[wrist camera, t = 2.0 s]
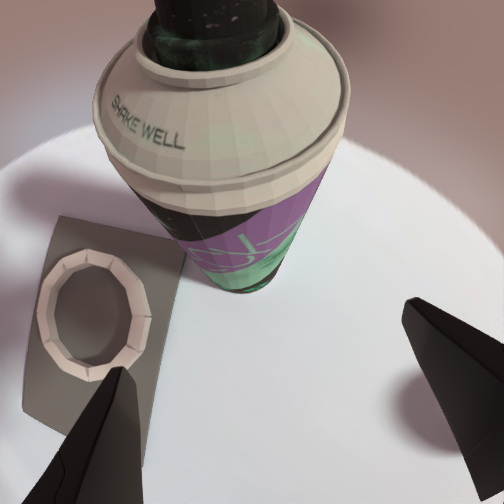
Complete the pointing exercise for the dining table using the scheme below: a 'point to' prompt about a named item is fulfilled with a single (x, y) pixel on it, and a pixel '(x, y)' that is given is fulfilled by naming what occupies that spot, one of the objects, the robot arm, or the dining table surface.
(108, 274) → the collar holder
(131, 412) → the robot arm
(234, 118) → the spray can
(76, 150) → the dining table surface
